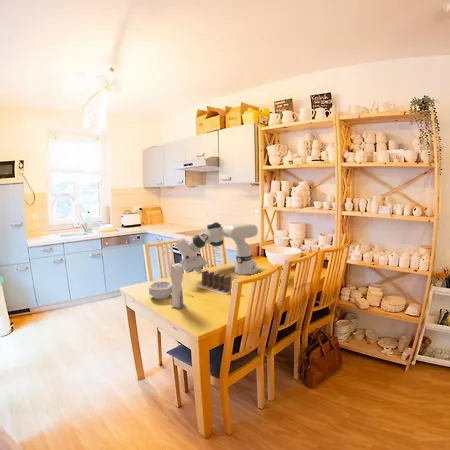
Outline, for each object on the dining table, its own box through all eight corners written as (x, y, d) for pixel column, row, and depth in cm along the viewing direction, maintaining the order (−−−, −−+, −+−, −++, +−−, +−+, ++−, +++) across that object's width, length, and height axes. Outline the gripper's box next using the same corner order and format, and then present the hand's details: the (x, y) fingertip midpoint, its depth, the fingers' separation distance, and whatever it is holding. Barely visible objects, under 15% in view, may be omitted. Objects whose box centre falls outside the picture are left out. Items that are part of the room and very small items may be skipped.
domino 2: (207, 287, 220) (207, 273, 219) (212, 285, 224) (211, 271, 222) (209, 287, 219) (209, 273, 217) (214, 285, 223) (213, 272, 221)
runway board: (207, 283, 231) (207, 281, 231) (236, 290, 215) (236, 289, 215) (196, 287, 222) (196, 286, 222) (225, 296, 206) (225, 294, 206)
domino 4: (218, 290, 214) (218, 276, 212) (223, 288, 218) (222, 274, 216) (220, 290, 213) (220, 276, 211) (225, 288, 217) (224, 274, 215)
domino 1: (202, 285, 223) (201, 272, 222) (206, 283, 227) (206, 270, 226) (204, 286, 222) (203, 272, 221) (208, 284, 226) (208, 270, 224)
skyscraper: (168, 308, 188) (167, 263, 183) (173, 303, 195) (171, 259, 191) (182, 309, 186) (181, 263, 182) (186, 304, 194) (185, 260, 190)
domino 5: (224, 291, 211) (224, 277, 209) (228, 289, 215) (228, 275, 213) (226, 292, 210) (226, 278, 208) (230, 290, 214) (230, 276, 212)
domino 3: (212, 288, 217) (212, 274, 215) (217, 286, 221) (217, 272, 219) (214, 289, 216) (214, 275, 214) (219, 287, 220) (219, 273, 218)
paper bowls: (149, 302, 197) (149, 290, 196) (148, 293, 211) (148, 282, 210) (174, 299, 201) (173, 287, 200) (171, 291, 215) (171, 280, 214)
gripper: (198, 257, 240) (208, 272, 236) (178, 263, 225) (188, 279, 220) (202, 252, 237) (212, 267, 232) (182, 258, 221) (193, 274, 217)
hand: (200, 273), depth 226 cm, fingers closed
